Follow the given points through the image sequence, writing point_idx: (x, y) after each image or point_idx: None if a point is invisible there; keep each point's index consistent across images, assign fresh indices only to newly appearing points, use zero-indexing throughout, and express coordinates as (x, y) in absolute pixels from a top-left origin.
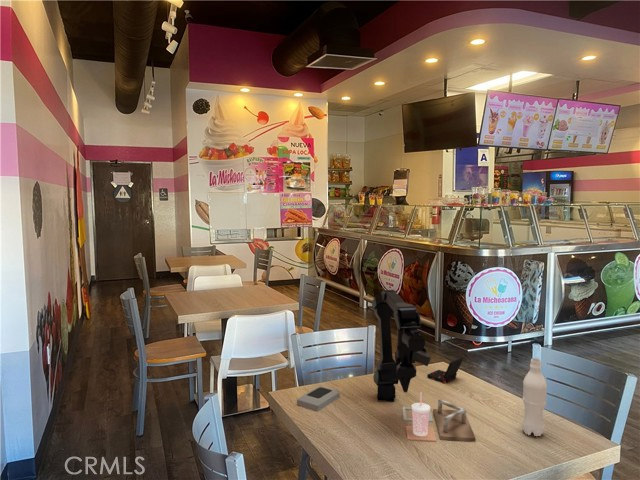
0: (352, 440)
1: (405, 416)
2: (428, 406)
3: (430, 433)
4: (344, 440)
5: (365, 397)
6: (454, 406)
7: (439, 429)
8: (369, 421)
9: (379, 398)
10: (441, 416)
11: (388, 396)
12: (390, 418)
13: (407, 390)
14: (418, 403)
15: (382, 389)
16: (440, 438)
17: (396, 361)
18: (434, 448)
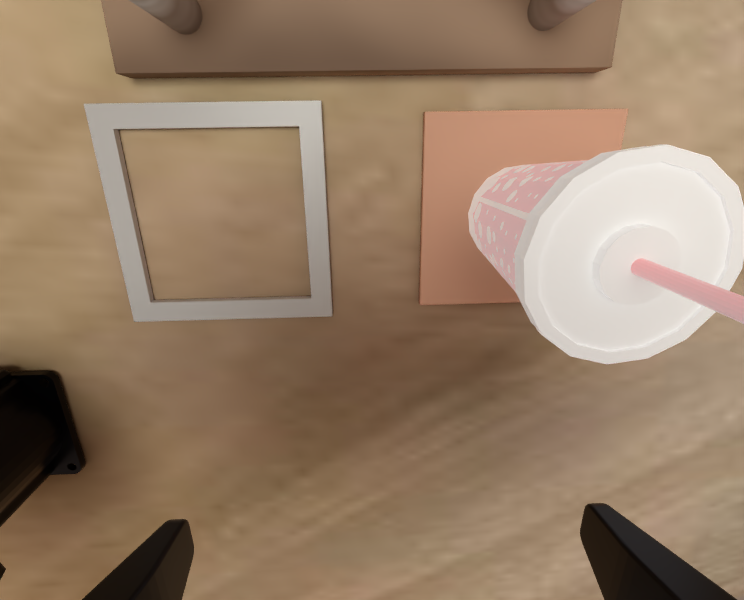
0: (579, 542)
1: (284, 303)
2: (623, 167)
3: (523, 141)
4: (578, 569)
5: (56, 524)
6: None
7: (503, 60)
8: (374, 489)
9: (53, 461)
10: (256, 6)
11: (32, 425)
12: (316, 389)
13: (636, 527)
14: (537, 285)
15: (4, 501)
16: (600, 69)
17: None
18: (705, 132)
